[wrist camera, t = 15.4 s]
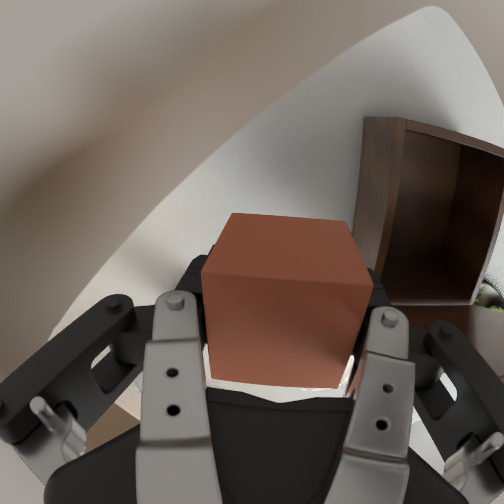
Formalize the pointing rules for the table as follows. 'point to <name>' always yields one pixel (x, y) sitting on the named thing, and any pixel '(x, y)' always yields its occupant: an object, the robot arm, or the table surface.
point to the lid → (466, 327)
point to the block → (283, 301)
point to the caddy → (427, 210)
